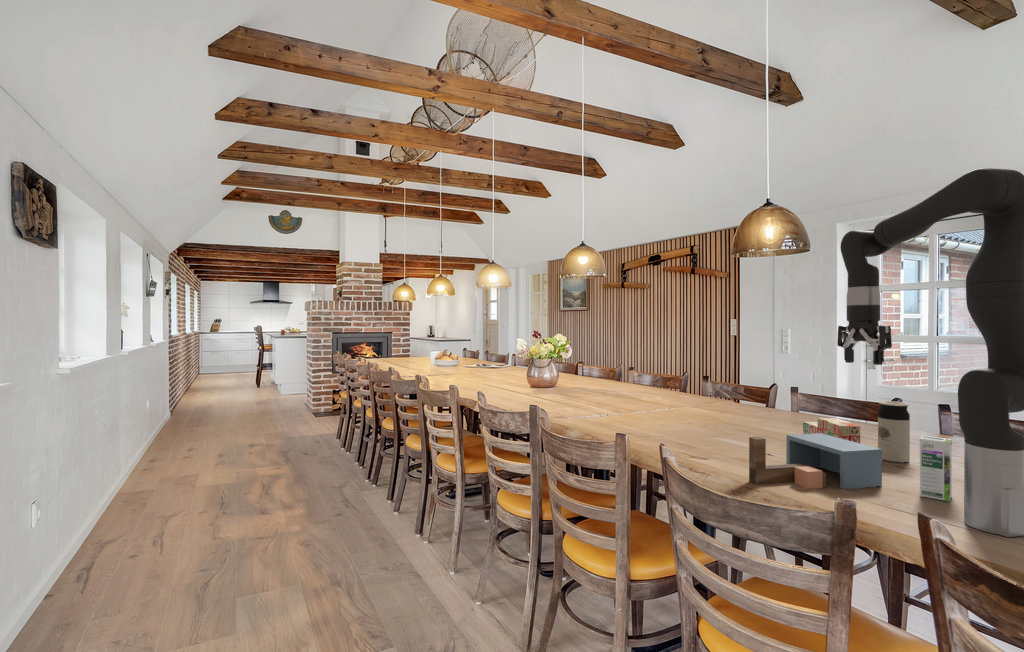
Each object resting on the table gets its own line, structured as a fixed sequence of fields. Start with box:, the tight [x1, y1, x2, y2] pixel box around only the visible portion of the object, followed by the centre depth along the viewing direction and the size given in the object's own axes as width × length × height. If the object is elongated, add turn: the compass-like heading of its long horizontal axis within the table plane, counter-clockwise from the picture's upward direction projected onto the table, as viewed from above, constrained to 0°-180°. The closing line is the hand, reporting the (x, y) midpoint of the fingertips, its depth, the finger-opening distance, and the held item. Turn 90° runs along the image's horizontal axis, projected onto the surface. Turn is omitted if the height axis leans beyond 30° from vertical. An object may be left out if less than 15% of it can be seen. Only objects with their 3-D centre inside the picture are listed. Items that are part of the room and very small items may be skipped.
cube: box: [794, 466, 824, 490], centre depth 133 cm, size 4×4×4 cm
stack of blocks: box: [802, 417, 861, 444], centre depth 163 cm, size 21×6×12 cm, turn 177°
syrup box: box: [919, 435, 953, 503], centre depth 124 cm, size 6×6×14 cm
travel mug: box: [877, 400, 911, 464], centre depth 158 cm, size 8×8×18 cm
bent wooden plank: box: [748, 436, 827, 488], centre depth 134 cm, size 8×17×12 cm, turn 102°
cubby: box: [785, 433, 883, 491], centre depth 140 cm, size 20×12×10 cm, turn 12°
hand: (863, 363), depth 137 cm, fingers open, 8 cm apart
